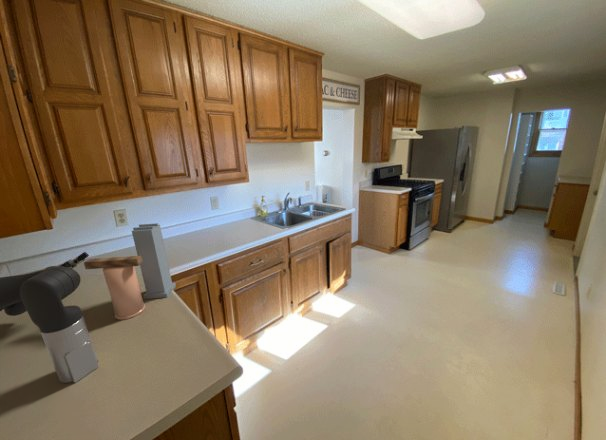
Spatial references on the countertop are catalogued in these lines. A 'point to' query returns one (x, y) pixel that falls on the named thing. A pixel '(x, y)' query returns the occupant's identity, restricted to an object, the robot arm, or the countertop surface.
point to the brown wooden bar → (113, 262)
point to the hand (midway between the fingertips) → (78, 258)
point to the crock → (124, 291)
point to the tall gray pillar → (153, 260)
